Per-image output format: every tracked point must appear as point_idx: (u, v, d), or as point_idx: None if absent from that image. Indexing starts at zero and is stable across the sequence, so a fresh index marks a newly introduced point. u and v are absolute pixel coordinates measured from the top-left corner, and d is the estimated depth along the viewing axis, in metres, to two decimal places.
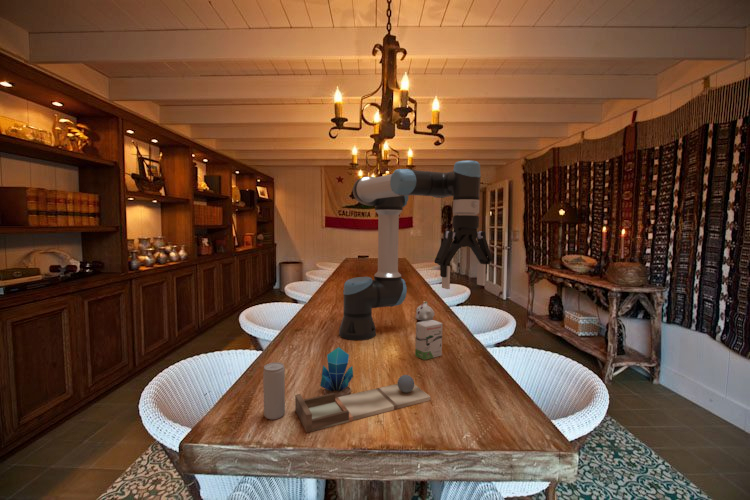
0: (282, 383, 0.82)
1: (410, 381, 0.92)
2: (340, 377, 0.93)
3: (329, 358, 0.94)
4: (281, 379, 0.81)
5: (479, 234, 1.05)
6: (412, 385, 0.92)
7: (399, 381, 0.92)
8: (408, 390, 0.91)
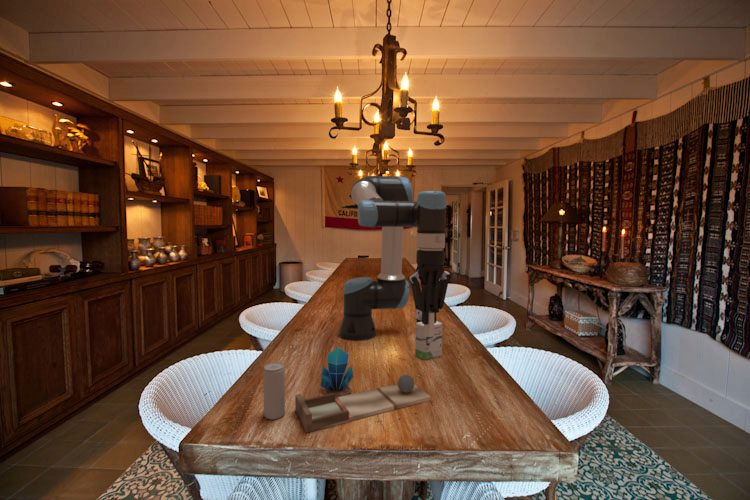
0: (282, 383, 0.82)
1: (410, 381, 0.92)
2: (340, 377, 0.93)
3: (329, 358, 0.94)
4: (281, 379, 0.81)
5: (445, 274, 0.96)
6: (412, 385, 0.92)
7: (399, 381, 0.92)
8: (408, 390, 0.91)
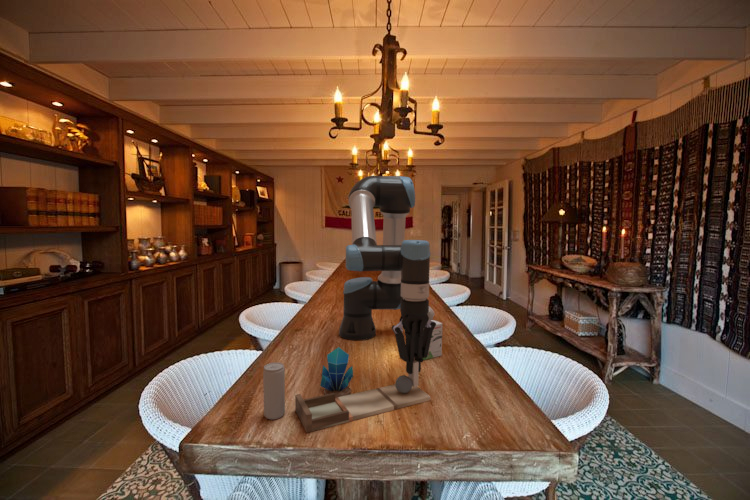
0: (282, 383, 0.82)
1: (407, 382, 0.91)
2: (340, 377, 0.93)
3: (329, 358, 0.94)
4: (281, 379, 0.81)
5: (429, 322, 0.95)
6: (410, 385, 0.91)
7: (396, 384, 0.92)
8: (407, 391, 0.91)
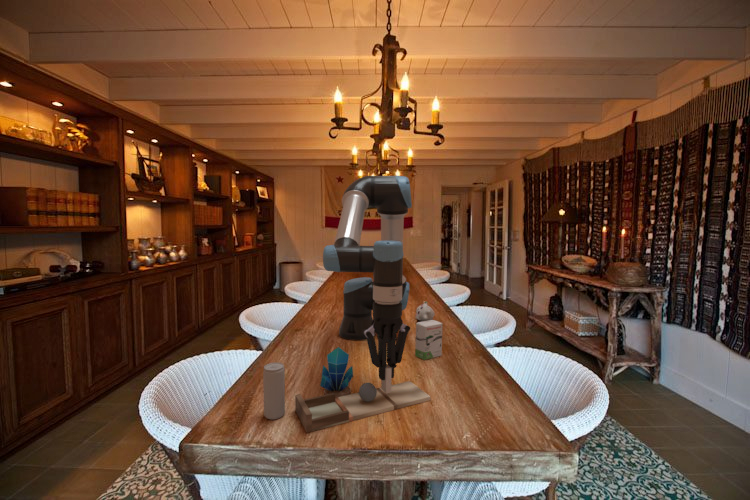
0: (282, 383, 0.82)
1: (374, 395, 0.87)
2: (340, 377, 0.93)
3: (329, 358, 0.94)
4: (281, 379, 0.81)
5: (403, 326, 0.91)
6: (370, 397, 0.86)
7: (372, 384, 0.89)
8: (367, 392, 0.86)
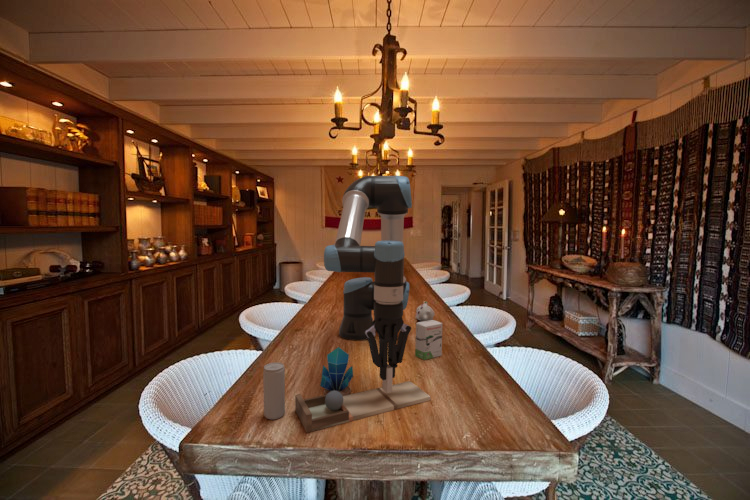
0: (282, 383, 0.82)
1: (332, 407, 0.83)
2: (340, 377, 0.93)
3: (329, 358, 0.94)
4: (281, 379, 0.81)
5: (404, 326, 0.91)
6: (334, 404, 0.83)
7: None
8: (341, 403, 0.84)
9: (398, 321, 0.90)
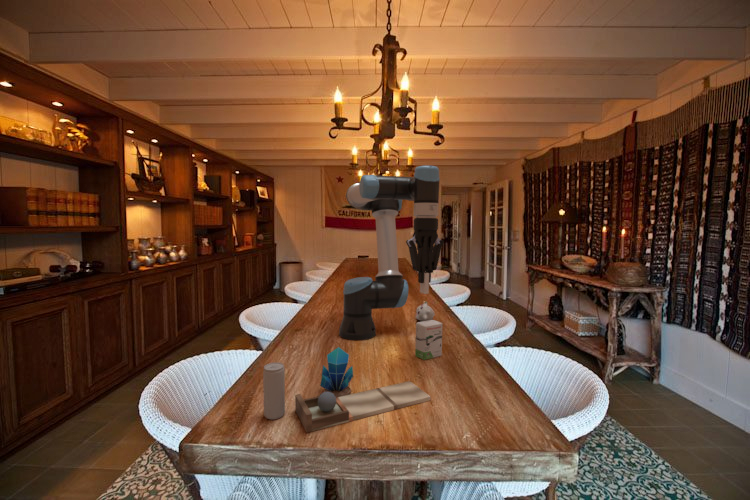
0: (282, 383, 0.82)
1: (329, 410, 0.83)
2: (340, 377, 0.93)
3: (329, 358, 0.94)
4: (281, 379, 0.81)
5: (438, 240, 1.10)
6: (328, 406, 0.83)
7: None
8: (333, 400, 0.83)
9: (434, 234, 1.08)
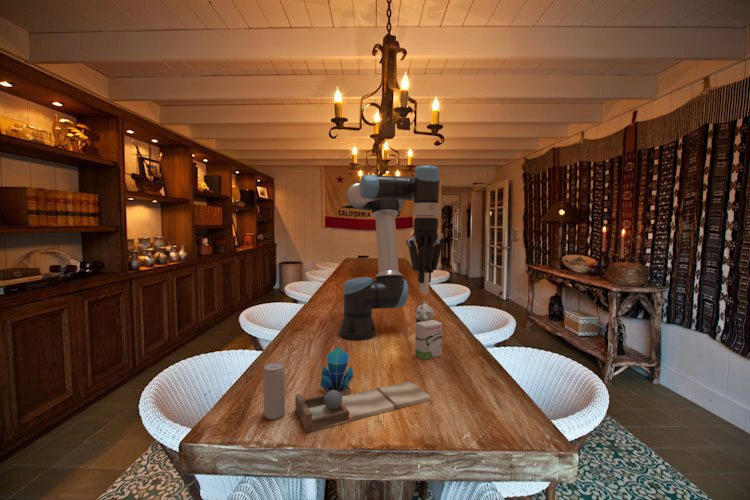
0: (282, 383, 0.82)
1: (332, 407, 0.83)
2: (340, 377, 0.93)
3: (329, 358, 0.94)
4: (281, 379, 0.81)
5: (438, 240, 1.10)
6: (335, 403, 0.83)
7: None
8: (340, 401, 0.84)
9: (434, 234, 1.08)
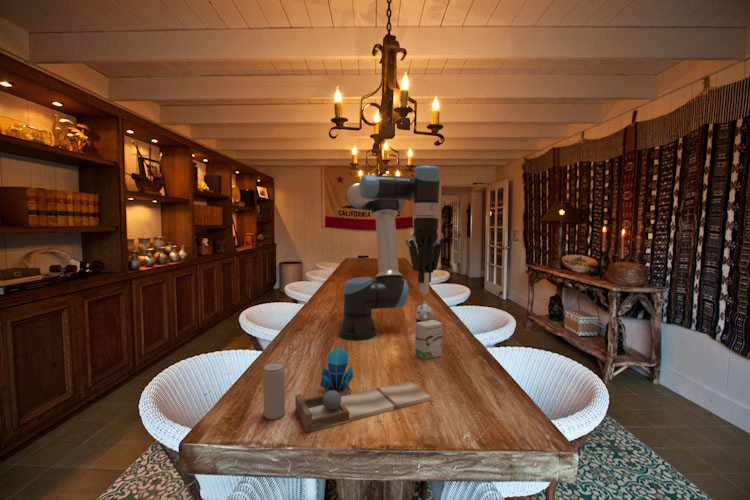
0: (282, 383, 0.82)
1: (331, 407, 0.83)
2: (340, 377, 0.93)
3: (329, 358, 0.94)
4: (281, 379, 0.81)
5: (438, 240, 1.10)
6: (333, 403, 0.83)
7: None
8: (339, 401, 0.84)
9: (434, 234, 1.08)
